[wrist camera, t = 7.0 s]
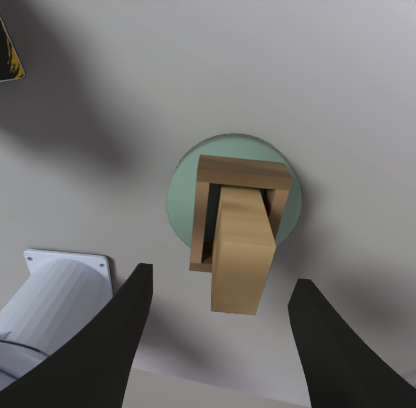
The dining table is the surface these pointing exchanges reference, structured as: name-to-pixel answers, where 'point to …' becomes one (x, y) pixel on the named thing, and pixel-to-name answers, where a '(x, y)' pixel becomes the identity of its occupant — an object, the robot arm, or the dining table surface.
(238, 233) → the block
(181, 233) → the pale green domed part
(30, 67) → the dining table surface
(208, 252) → the brown wooden rectangular frame
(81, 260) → the robot arm
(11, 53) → the medicine bottle
